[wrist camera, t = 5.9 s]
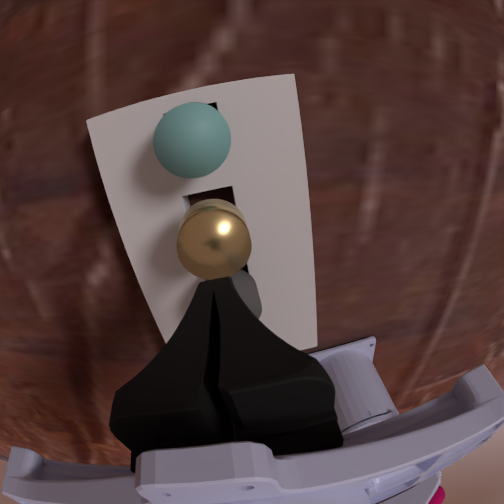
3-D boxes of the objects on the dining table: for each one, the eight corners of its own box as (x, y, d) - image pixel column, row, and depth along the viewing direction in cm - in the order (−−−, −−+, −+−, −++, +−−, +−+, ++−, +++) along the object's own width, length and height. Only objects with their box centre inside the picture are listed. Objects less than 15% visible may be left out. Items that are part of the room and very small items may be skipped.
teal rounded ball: (231, 153, 18) (237, 169, 14) (172, 166, 18) (163, 185, 14) (220, 95, 16) (223, 95, 13) (159, 109, 16) (145, 113, 12)
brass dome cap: (246, 235, 19) (256, 272, 16) (190, 247, 19) (187, 286, 16) (236, 180, 18) (245, 206, 14) (175, 193, 17) (167, 222, 14)
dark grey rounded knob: (256, 288, 23) (265, 326, 19) (208, 298, 23) (209, 337, 19) (248, 246, 21) (257, 281, 18) (196, 256, 21) (194, 293, 17)
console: (309, 327, 28) (317, 346, 26) (181, 352, 27) (180, 373, 25) (283, 75, 17) (293, 73, 15) (99, 116, 17) (86, 120, 15)
